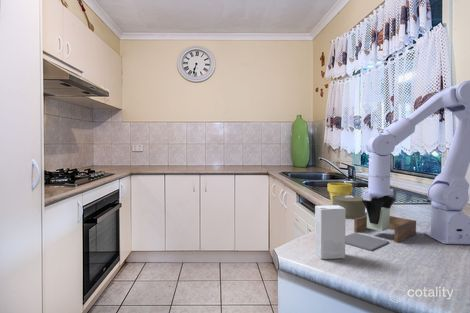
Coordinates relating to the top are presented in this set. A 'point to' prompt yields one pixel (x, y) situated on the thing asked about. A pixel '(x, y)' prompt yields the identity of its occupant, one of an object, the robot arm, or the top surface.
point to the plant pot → (339, 189)
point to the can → (350, 205)
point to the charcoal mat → (364, 241)
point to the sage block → (380, 220)
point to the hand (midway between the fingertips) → (378, 222)
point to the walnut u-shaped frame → (391, 227)
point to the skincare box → (330, 231)
